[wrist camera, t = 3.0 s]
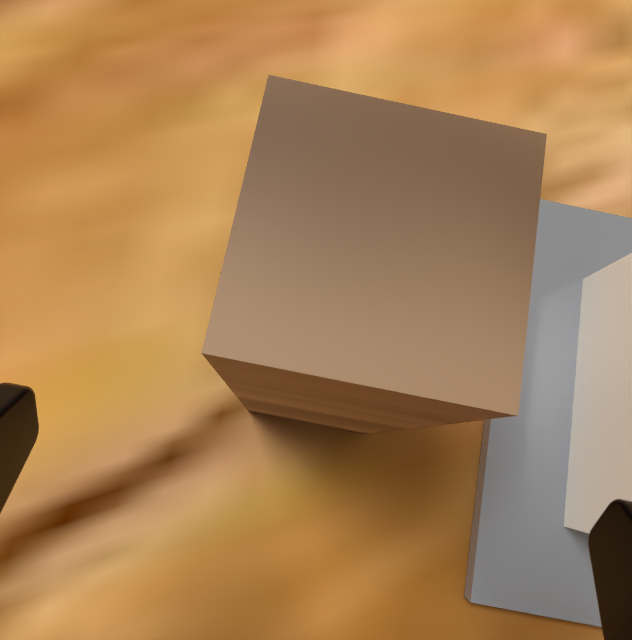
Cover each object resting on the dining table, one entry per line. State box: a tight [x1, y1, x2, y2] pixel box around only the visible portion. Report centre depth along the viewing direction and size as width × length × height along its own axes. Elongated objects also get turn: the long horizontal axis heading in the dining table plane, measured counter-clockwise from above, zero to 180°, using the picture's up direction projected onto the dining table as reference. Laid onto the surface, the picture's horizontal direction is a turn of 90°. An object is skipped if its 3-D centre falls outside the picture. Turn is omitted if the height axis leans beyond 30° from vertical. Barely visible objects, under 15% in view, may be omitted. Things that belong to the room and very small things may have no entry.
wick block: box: [202, 75, 547, 434], centre depth 13 cm, size 4×4×12 cm
